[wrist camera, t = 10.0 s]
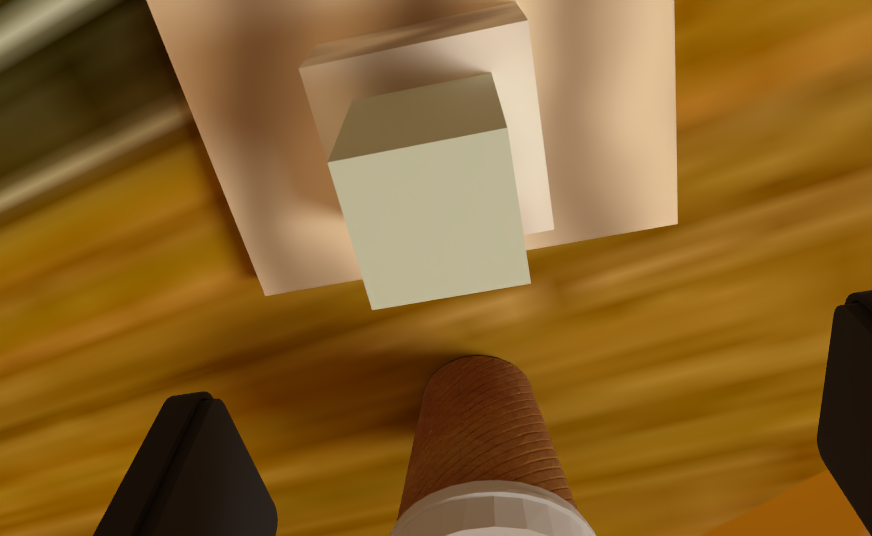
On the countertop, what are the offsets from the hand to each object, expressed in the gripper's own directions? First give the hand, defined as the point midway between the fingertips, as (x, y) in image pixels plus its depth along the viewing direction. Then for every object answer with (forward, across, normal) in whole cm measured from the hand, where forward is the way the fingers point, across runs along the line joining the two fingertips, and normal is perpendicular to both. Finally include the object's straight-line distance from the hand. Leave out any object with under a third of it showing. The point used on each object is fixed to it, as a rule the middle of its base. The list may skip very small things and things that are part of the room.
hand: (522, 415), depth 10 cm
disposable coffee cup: (+21, +3, +18) cm, 28 cm away
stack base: (+21, +2, +1) cm, 21 cm away
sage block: (+15, +2, +1) cm, 15 cm away
